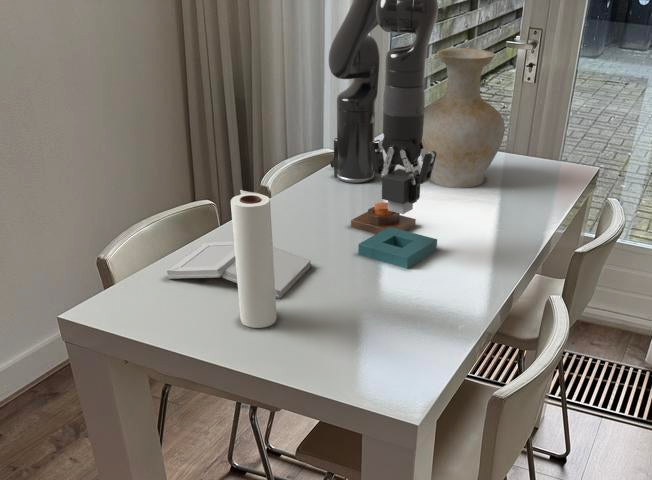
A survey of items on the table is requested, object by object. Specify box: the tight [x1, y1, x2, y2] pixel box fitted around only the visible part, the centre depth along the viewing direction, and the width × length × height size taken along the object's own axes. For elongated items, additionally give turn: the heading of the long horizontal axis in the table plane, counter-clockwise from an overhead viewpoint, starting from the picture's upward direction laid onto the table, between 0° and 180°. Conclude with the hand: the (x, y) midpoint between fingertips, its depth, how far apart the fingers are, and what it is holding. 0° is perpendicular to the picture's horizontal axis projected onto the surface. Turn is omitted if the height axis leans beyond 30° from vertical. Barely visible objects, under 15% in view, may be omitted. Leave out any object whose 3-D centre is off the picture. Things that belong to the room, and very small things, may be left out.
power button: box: [374, 202, 393, 215], centre depth 166 cm, size 4×4×2 cm
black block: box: [381, 168, 414, 215], centre depth 150 cm, size 5×6×7 cm
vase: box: [422, 47, 506, 189], centre depth 189 cm, size 22×22×30 cm
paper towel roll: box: [230, 189, 278, 329], centre depth 125 cm, size 7×6×21 cm
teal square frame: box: [357, 227, 438, 270], centre depth 156 cm, size 12×12×2 cm
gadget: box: [166, 241, 312, 299], centre depth 145 cm, size 23×15×4 cm, turn 73°
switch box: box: [350, 206, 417, 235], centre depth 167 cm, size 11×9×4 cm
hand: (400, 199), depth 150 cm, fingers closed on black block, 5 cm apart
